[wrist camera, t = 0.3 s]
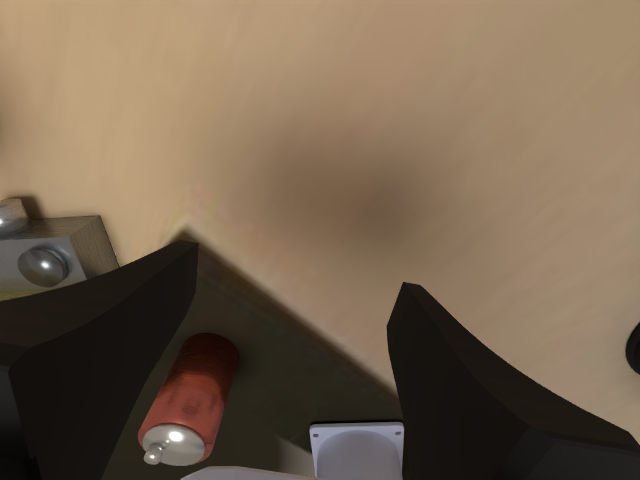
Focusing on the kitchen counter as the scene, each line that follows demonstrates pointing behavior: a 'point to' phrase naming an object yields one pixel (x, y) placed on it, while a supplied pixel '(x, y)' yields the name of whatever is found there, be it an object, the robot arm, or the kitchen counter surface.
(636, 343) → the aerosol can
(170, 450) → the red metal cylinder
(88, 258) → the grey socket block
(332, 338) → the kitchen counter surface
